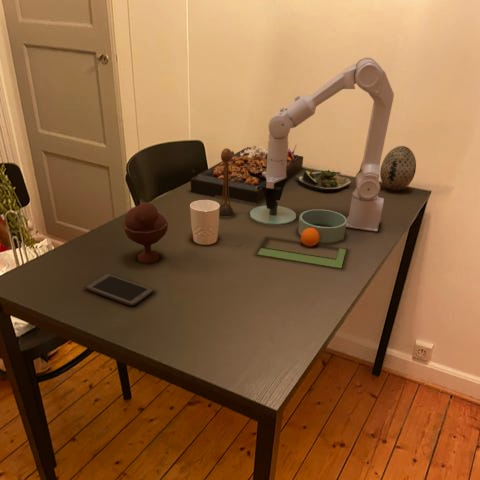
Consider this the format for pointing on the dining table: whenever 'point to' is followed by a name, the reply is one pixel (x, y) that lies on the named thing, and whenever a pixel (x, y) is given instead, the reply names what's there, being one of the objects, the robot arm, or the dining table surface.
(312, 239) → the orange
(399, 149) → the decorative egg
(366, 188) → the robot arm
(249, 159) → the food platter
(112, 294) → the cell phone
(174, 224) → the dining table surface
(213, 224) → the white cup
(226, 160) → the wooden tabletop sculpture
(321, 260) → the green flat l-shaped piece
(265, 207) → the lid
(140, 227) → the ice cream bowl
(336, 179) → the salad plate
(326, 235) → the pot
